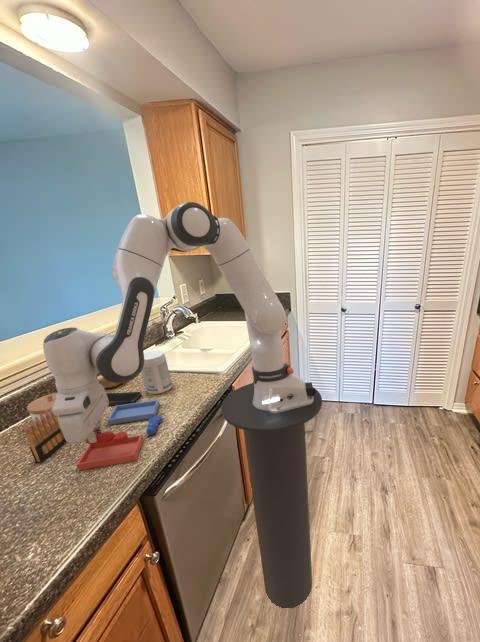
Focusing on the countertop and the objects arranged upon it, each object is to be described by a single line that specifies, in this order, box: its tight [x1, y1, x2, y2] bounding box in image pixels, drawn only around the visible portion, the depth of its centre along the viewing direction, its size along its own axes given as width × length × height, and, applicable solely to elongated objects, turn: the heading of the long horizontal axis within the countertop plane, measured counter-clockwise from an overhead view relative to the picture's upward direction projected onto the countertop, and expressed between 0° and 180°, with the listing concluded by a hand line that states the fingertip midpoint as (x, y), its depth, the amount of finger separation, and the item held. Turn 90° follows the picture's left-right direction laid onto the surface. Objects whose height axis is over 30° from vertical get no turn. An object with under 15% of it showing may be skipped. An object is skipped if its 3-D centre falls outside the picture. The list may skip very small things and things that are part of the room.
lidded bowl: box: [26, 392, 59, 424], centre depth 104 cm, size 13×13×11 cm
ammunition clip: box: [23, 407, 68, 463], centre depth 91 cm, size 11×2×12 cm, turn 177°
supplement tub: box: [140, 350, 173, 395], centre depth 125 cm, size 10×10×15 cm
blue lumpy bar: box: [145, 415, 163, 436], centre depth 102 cm, size 4×10×3 cm, turn 13°
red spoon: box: [84, 431, 129, 445], centre depth 88 cm, size 4×10×3 cm, turn 103°
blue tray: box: [106, 399, 161, 426], centre depth 110 cm, size 14×10×2 cm
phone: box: [106, 391, 142, 406], centre depth 120 cm, size 8×1×15 cm
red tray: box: [75, 434, 144, 471], centre depth 90 cm, size 14×10×2 cm
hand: (96, 437), depth 88 cm, fingers closed on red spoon, 2 cm apart
